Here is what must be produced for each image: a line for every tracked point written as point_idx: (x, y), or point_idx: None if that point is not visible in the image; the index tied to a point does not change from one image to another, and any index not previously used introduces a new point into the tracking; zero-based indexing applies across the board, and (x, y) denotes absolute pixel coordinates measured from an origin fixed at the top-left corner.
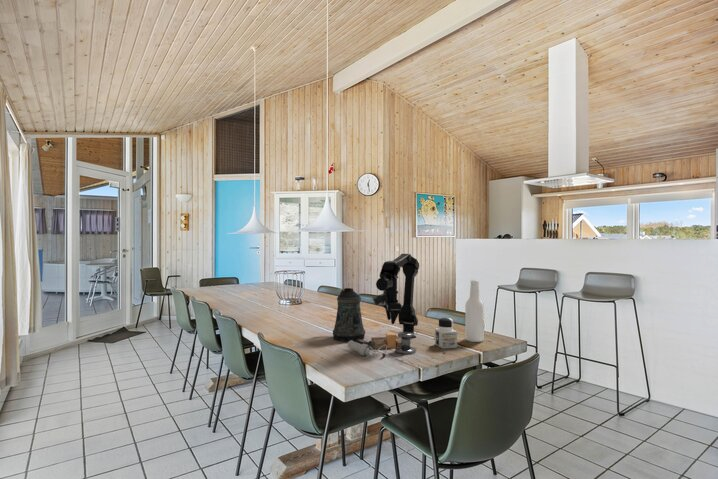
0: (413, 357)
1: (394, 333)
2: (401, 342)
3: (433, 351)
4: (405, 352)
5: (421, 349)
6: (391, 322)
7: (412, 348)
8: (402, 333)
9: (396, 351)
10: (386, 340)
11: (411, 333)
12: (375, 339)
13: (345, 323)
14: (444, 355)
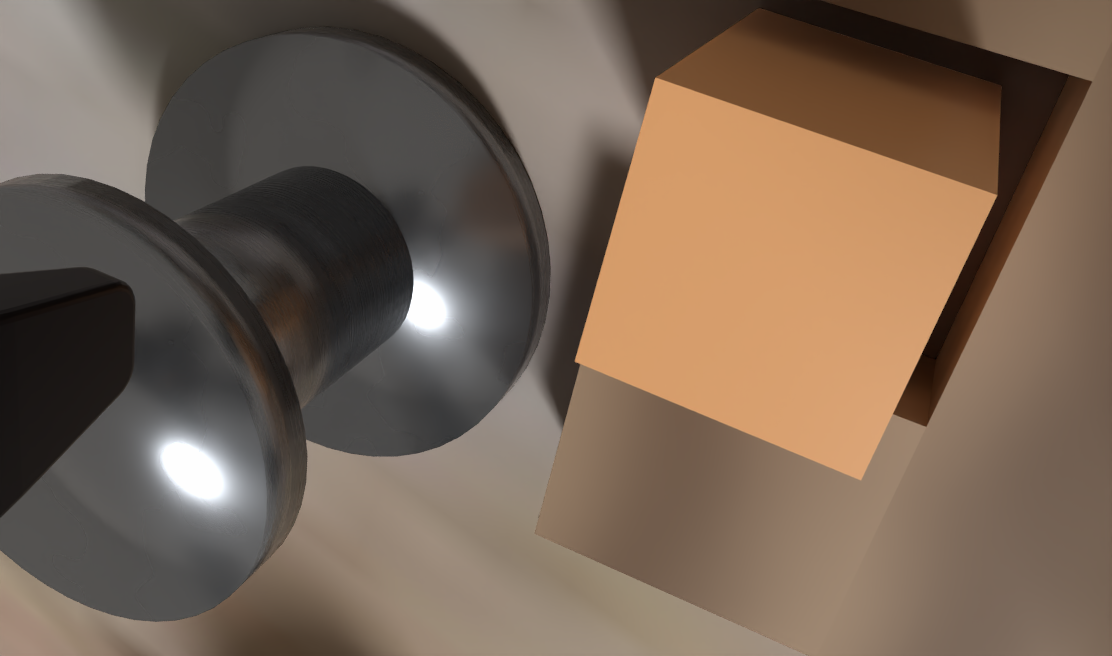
0: (12, 155)
1: (767, 428)
2: (232, 218)
3: (259, 634)
4: (160, 137)
5: (404, 571)
6: (28, 276)
7: (344, 410)
8: None
9: (333, 31)
10: (898, 93)
11: (62, 552)
12: None
13: None
14: (67, 608)
